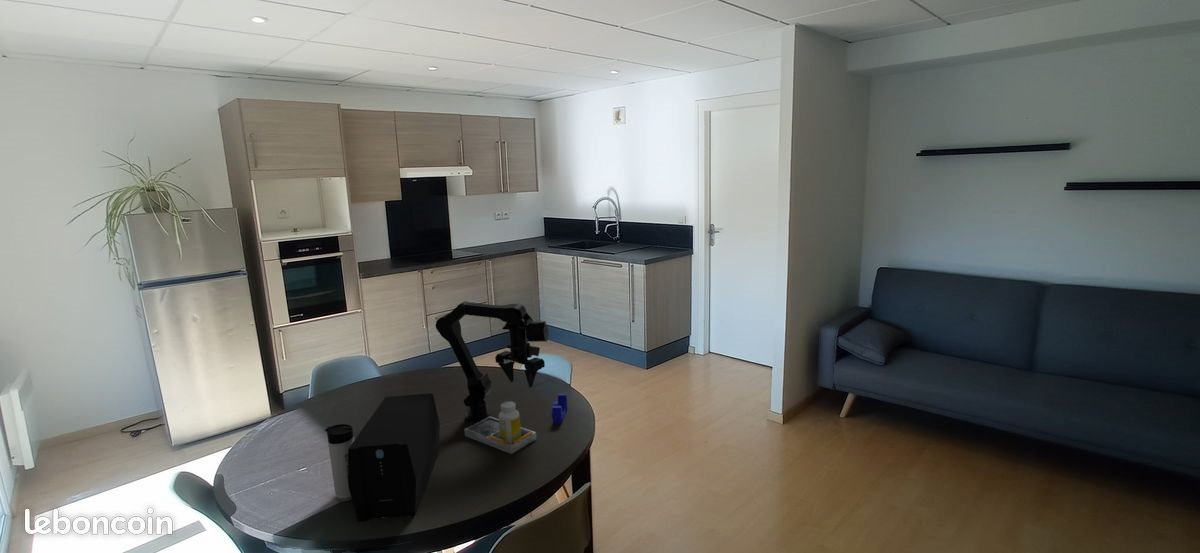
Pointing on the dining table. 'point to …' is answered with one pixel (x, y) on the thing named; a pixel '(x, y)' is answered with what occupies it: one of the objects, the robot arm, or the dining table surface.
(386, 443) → the uninterruptible power supply
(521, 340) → the robot arm
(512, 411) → the supplement bottle
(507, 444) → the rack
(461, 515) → the dining table surface
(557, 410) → the cable clip
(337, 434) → the travel mug
